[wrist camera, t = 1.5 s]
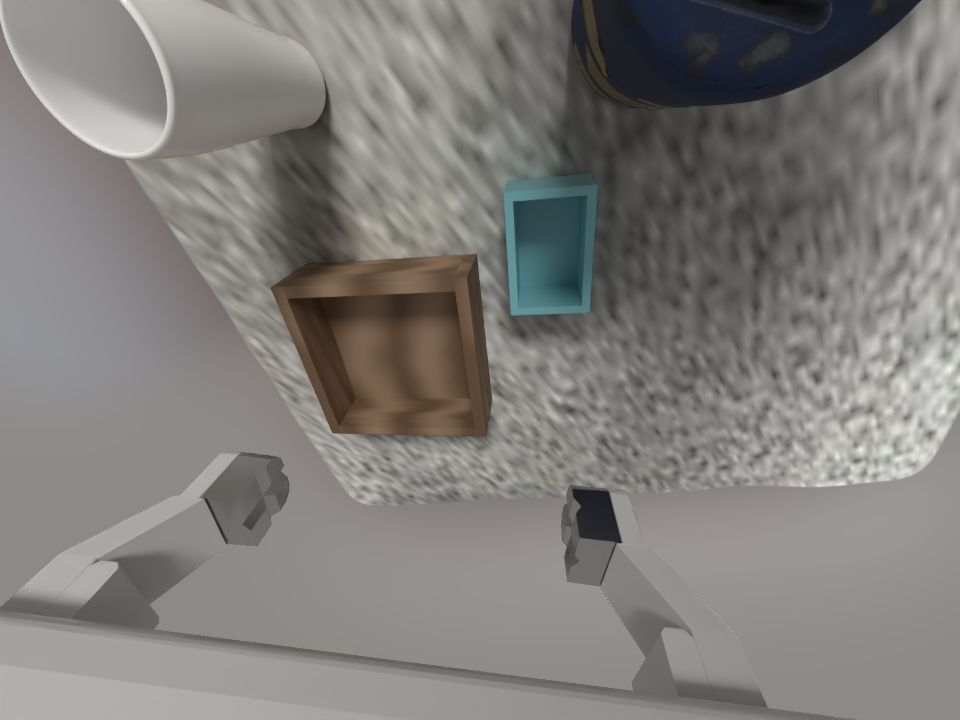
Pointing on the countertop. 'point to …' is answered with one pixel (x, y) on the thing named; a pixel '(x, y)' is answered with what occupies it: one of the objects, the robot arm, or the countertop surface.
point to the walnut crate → (392, 344)
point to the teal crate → (550, 243)
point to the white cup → (161, 74)
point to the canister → (720, 46)
